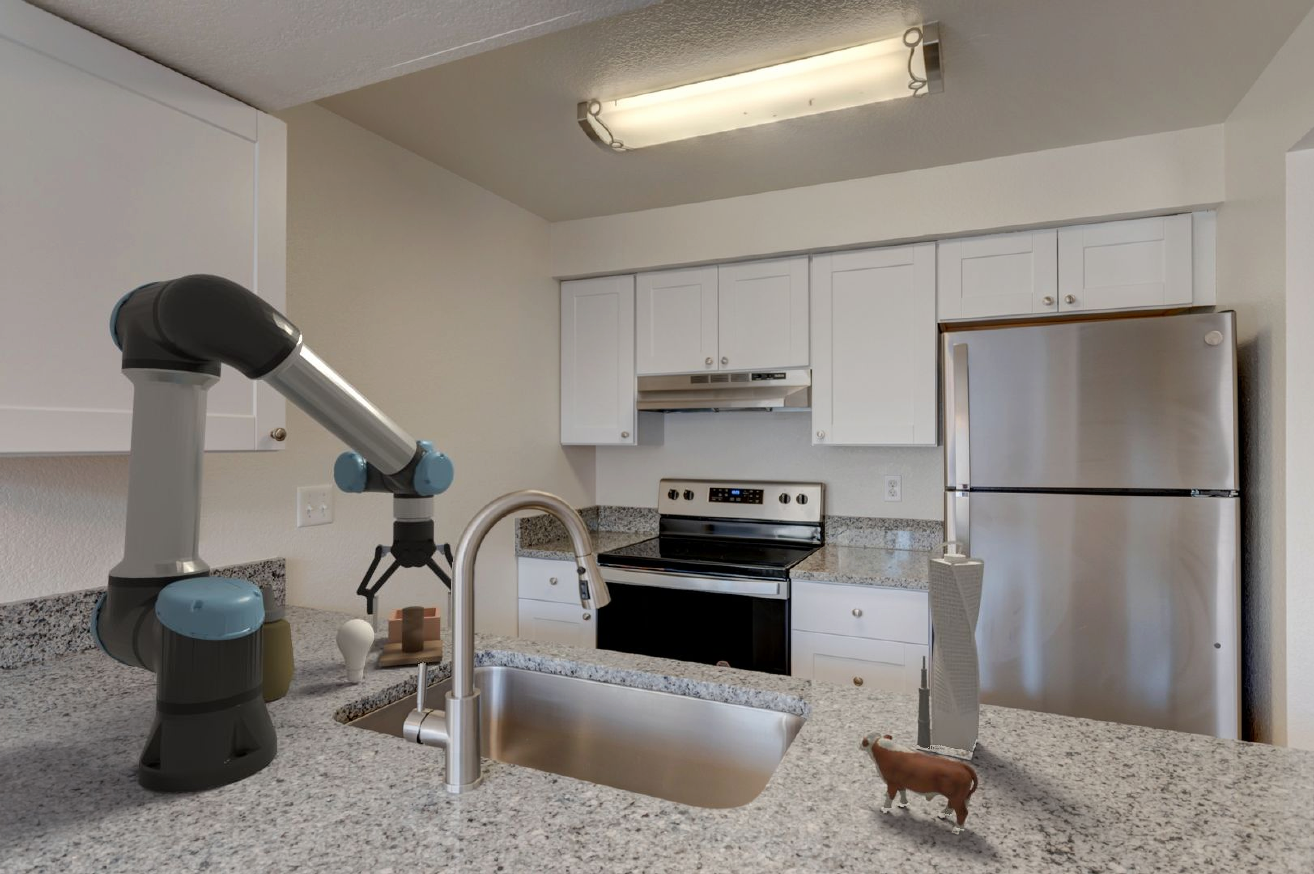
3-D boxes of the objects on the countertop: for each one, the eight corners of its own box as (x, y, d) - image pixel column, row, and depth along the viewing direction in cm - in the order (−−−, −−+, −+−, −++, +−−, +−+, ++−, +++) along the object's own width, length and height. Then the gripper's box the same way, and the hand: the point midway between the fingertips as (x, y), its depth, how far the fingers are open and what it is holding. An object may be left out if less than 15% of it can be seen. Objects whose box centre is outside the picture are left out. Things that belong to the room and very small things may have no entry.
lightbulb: (335, 679, 123) (336, 617, 123) (373, 675, 125) (373, 613, 125) (335, 691, 117) (336, 625, 117) (374, 685, 120) (375, 621, 120)
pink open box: (388, 650, 140) (388, 620, 140) (392, 637, 149) (392, 609, 150) (440, 646, 143) (440, 617, 143) (440, 633, 152) (440, 606, 152)
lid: (379, 666, 128) (380, 617, 128) (385, 649, 139) (385, 604, 139) (442, 660, 131) (442, 613, 132) (442, 644, 142) (442, 600, 142)
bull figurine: (863, 787, 85) (863, 720, 85) (981, 826, 76) (981, 752, 76) (848, 802, 81) (848, 732, 81) (970, 844, 73) (970, 766, 73)
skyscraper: (927, 727, 103) (927, 538, 103) (987, 739, 99) (987, 542, 99) (916, 748, 96) (916, 545, 96) (980, 762, 91) (980, 549, 92)
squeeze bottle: (251, 709, 109) (252, 594, 109) (229, 698, 114) (230, 588, 114) (303, 695, 115) (304, 586, 115) (281, 684, 120) (281, 580, 120)
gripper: (479, 515, 143) (478, 619, 142) (346, 518, 135) (346, 628, 135) (480, 519, 135) (480, 628, 135) (341, 523, 128) (340, 638, 128)
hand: (413, 628), depth 135 cm, fingers open, 13 cm apart
